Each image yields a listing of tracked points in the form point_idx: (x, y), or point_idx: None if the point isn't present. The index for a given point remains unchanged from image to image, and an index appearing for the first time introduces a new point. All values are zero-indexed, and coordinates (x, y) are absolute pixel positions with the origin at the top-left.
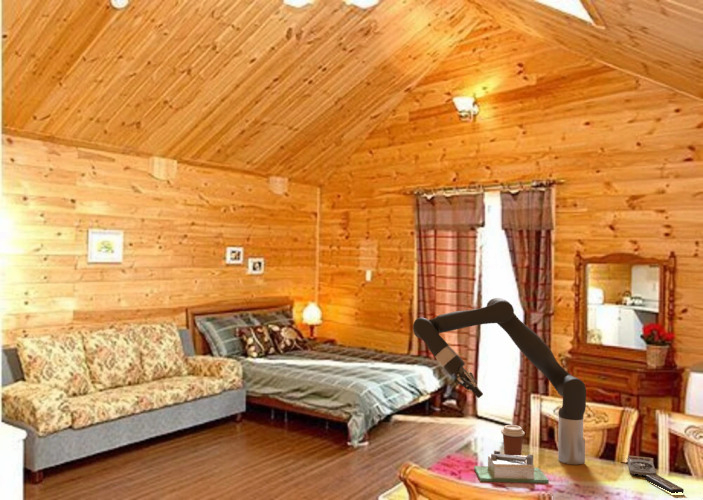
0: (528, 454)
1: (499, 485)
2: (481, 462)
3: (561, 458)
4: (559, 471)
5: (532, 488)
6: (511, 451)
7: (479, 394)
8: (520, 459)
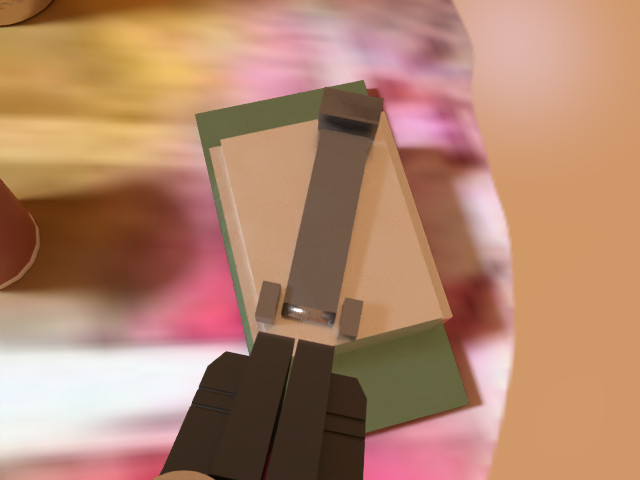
0: (321, 110)
1: (477, 304)
2: (131, 423)
3: (27, 3)
4: (177, 35)
5: (453, 157)
6: (20, 236)
7: (358, 394)
8: (365, 163)
